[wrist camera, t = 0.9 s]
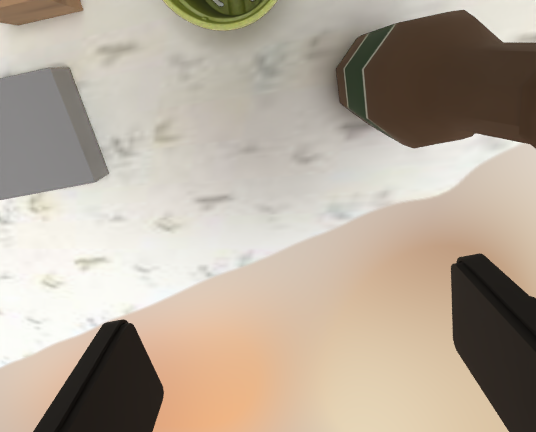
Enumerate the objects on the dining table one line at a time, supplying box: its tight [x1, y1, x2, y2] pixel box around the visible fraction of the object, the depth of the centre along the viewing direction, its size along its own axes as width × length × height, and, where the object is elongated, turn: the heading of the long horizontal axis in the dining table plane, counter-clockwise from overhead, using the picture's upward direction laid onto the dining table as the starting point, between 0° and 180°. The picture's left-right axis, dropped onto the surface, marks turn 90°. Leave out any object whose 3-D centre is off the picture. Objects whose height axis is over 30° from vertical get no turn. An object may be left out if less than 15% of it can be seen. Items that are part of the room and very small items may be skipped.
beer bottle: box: [336, 10, 536, 148], centre depth 21 cm, size 8×8×24 cm
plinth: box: [0, 68, 109, 200], centre depth 33 cm, size 10×10×3 cm
